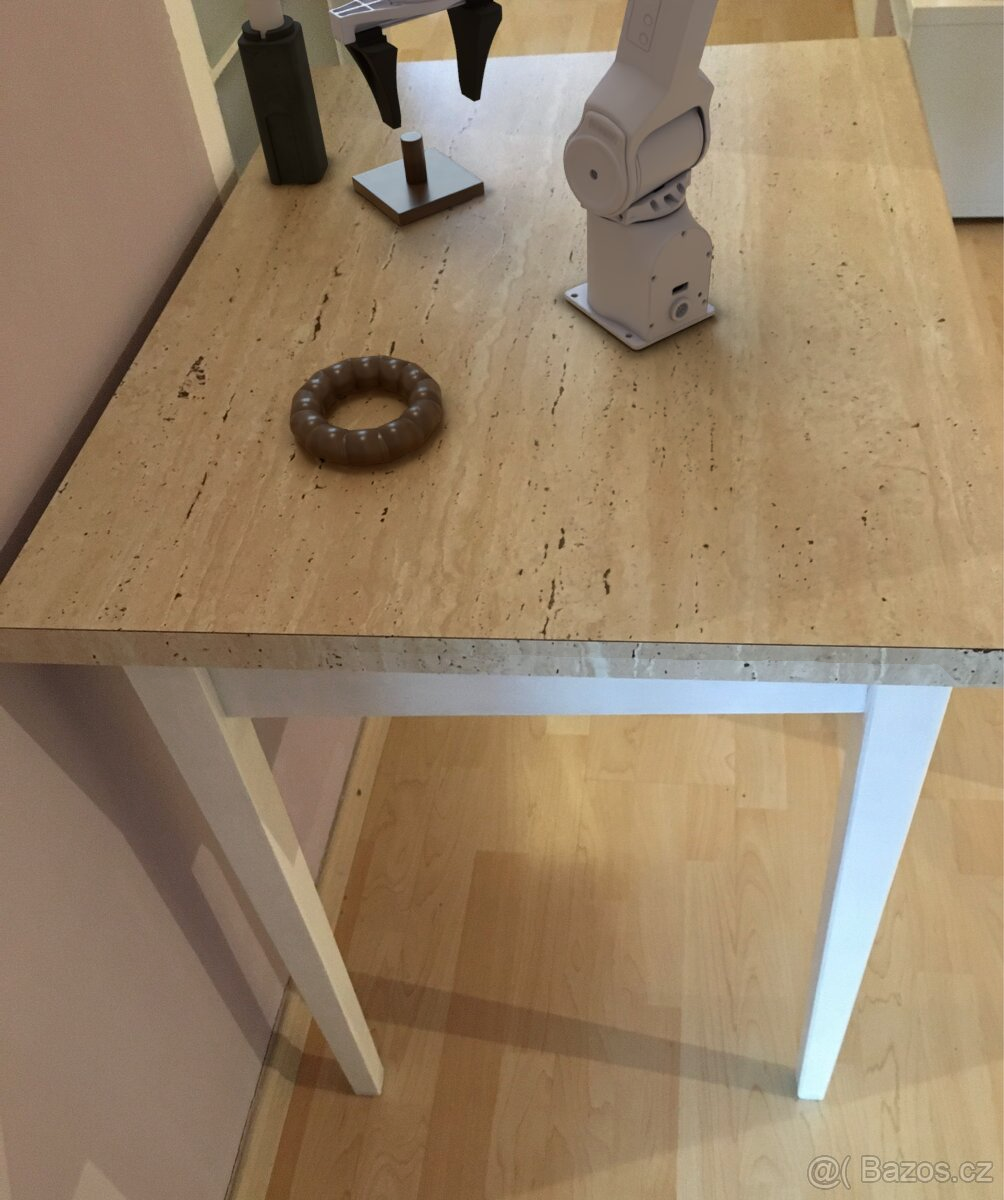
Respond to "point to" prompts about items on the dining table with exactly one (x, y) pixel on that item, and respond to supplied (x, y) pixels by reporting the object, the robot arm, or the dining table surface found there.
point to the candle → (282, 94)
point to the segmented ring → (374, 441)
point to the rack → (417, 182)
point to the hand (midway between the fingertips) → (432, 110)
